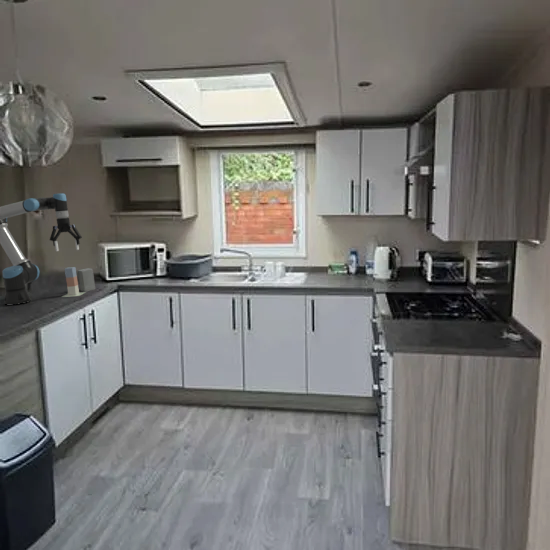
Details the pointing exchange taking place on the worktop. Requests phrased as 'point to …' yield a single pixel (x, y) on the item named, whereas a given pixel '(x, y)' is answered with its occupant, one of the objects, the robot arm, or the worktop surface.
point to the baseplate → (74, 295)
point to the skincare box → (86, 279)
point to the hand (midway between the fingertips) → (67, 250)
